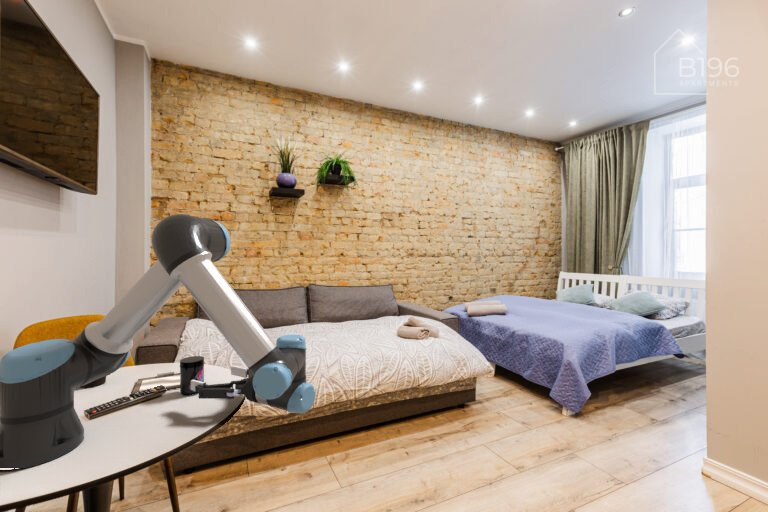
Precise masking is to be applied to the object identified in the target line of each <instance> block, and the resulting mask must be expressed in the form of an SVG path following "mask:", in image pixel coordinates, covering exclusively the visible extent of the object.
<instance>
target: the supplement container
mask: <svg viewBox="0 0 768 512" xmlns="http://www.w3.org/2000/svg"><path fill="white" fill-rule="evenodd" d="M179 373H180V389H179V390H180V391H179V392H180V395H182V396H188V397H189V396H194V395H199V394H198V392H196V391H193V390H191V380H197V381H201V382H205V357H204V356H203V355H201V356H200V355H193V356H188V357H183V358H182V359H180V360H179Z"/></svg>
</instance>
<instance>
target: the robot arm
mask: <svg viewBox="0 0 768 512" xmlns="http://www.w3.org/2000/svg"><path fill="white" fill-rule="evenodd" d="M151 245H152V250H153V253H154V255H155V257H156V259H157V260H156V261H155V262H154V263H153V264H152V266H151V267H149V269H147V271H146V272H145V273H144V274H143V275H142V276H141V277H140V278H139V279H138V281H137V282H135V283H134V285H133V286H132V287H130V289H129V290H128V291H127V292H126V293H125V294H124V295H123V297H121V298H120V300H119V301H118V302H116V304H115V305H114V306H113V307H112V308H111V309H110V310H109V311H108V313H106V314H105V316H104V317H103V318H102V319H101V320H99V321H98V320H97V321H94V322H90V323H89V324H87V325H86V327H84V329H83V330H82V331H81V332H80V333H79V334H78V335H77V336H76V337H75V338H74V339H71V340H70V339H66V338H55V339H45V340H41V341H39V342H31V343H28V344H26V345H22V346H19V347H17V348H14V349H12V350H10V351H8V352H6V353H5V355H3V356H2V358H1V359H0V468H14V469H15V468H23V469H26V468H25V467H27V468H31V467H34V466H38V465H41V464H44V463H47V462H50V461H53V460H56V459H58V458H60V457H61V456H64V455H66V454H67V453H70V452H72V451H74V450H75V449H76V448H78V447H79V446H80V445H81V444H82V443H83V442H84V440H85V427H84V425H83V423H82V421H81V420H80V417H79V416H78V414H77V413H78V412H77V411H76V409H75V390H77V389H79V388H81V386H83V385H86V384H88V383H90V382H92V381H95V380H97V379H99V378H102V377H105V376H106V377H108V376H109V375H111V374H113V373H115V372H117V371H118V370H119V369H121V368H122V367H123V366H124V365H125V364H126V362H127V361H128V359H129V358H130V355H131V350H132V348H133V346H134V341H133V339H134V337H136V336H137V335H138V334H139V332H141V330H143V328H144V327H145V326H146V325H147V324H148V323H149V322H150V321H151V320H152V319H153V317H154V316H155V315H156V314H157V313H158V312H159V311H160V310H161V309H162V308H163V307H164V305H166V304H167V302H169V300H170V299H171V298H172V297H173V296H174V295H175V294H176V293H177V292H178V291H179V290H180V288H181V287H182V286H184V287H185V289H186V291H188V292H189V294H190V295H191V297H192V298H193V299H194V300H195V302H196V303H197V304H198V306H199V307H200V308H201V309H202V311H203V312H204V314H206V316H207V317H208V318H209V319H210V321H211V322H212V323H213V324H214V326H215V328H216V329H217V330H218V331H219V333H221V336H223V337H224V339H225V340H226V342H228V344H229V345H230V346H231V348H232V349H233V350H234V352H235V353H236V354H237V355H238V357H239V358H240V359H241V360H242V362H243V363H244V364H245V366H246V367H242V366H237V365H231V366H230V375H231V376H236V377H240V378H241V379H239V380H231V381H230V382H226V383H216V384H209V383H208V382H207V381H206V382H205V381H204V382H201V381H197V380H191V390H193V391H196V392H198V394H197V395H198V399H202V400H203V399H204V400H205V399H210V400H211V399H227V400H234V399H235V396H236V395H240V396H241V395H242V396H243V395H244V397H245V398H246V400H248V402H253V403H255V404H256V403H257V404H261V405H265V406H267V407H268V406H269V407H271V408H275V409H280V410H283V411H285V412H289V413H295V414H302V415H303V414H305V413H307V412H309V411H310V410H311V408H312V407H313V405H314V404H315V401H316V397H317V396H316V388H315V387H314V385H313V384H311V383H310V382H307V372H306V371H307V370H306V369H307V368H306V367H307V364H306V363H307V362H306V360H307V355H306V354H307V351H306V350H307V347H306V338H305V336H303V335H301V334H286V335H282V336H279V337H278V338H277V339H276V343H275V342H274V340H273V339H272V338H271V336H270V335H269V334H268V332H266V330H265V328H264V327H263V326H262V325H261V324H260V322H259V321H258V319H257V318H256V317H255V316H254V314H253V313H252V311H250V309H249V308H248V307H247V306H246V304H245V303H244V302H243V300H242V299H241V298H240V296H239V295H238V294H237V292H236V290H234V288H233V287H232V286H231V284H230V283H229V282H228V281H227V279H226V278H225V277H224V275H223V274H222V273H221V272H220V271H219V269H218V268H217V266H216V265H215V264H214V263H215V262H218V261H220V260H222V259H224V258H225V257H226V255H227V254H228V253H229V251H230V247H231V236H230V234H229V231H228V230H227V228H226V227H225V226H224V225H223V224H221V223H220V222H218V221H216V220H214V219H212V218H210V217H209V218H207V217H199V216H195V215H191V214H187V213H186V214H185V213H175V214H170V215H168V216H166V217H164V218H163V219H161V220H160V221H159V222H158V223H157V224H156V225H155V227H154V229H153V231H152V234H151ZM242 378H243V379H242ZM234 386H235V387H234Z"/></svg>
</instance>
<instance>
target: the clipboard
mask: <svg viewBox="0 0 768 512" xmlns="http://www.w3.org/2000/svg"><path fill="white" fill-rule="evenodd" d="M160 385H163V386H165V387H166V389H167V390H168V391H171V390H170V389H174V390H177V389H176V388H180V372H179V373H178V372H176V373H175V371H168V372H162V373H157V375H155V376H152V377H150V376H149V377H143V378H138V380H137V382H136V385H135V387H134V388H133V391H132V394H135V393H137V392H140V391H144V390H147V389H150V388H154V387H157V386H160Z"/></svg>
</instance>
